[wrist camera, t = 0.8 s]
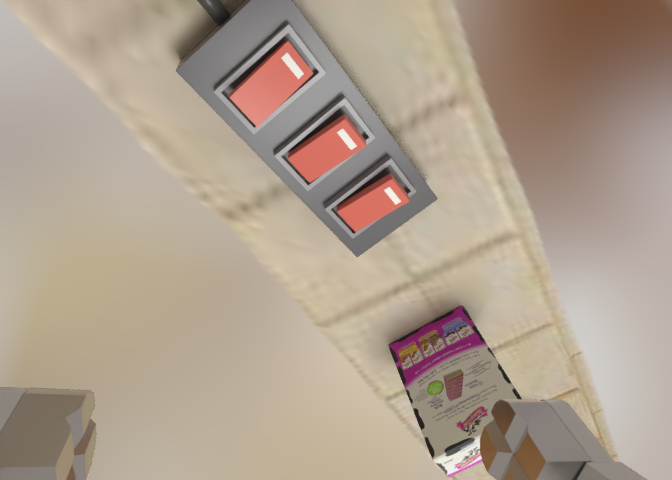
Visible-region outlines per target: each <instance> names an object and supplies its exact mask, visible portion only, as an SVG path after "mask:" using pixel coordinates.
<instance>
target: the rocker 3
mask: <svg viewBox="0 0 672 480" xmlns="http://www.w3.org/2000/svg"><path fill="white" fill-rule="evenodd" d="M409 201H410V200H409V196H408V194H407V193H406V191H405V190H404V189H403V187H402V186H401V185H400V184H399V182H398V181H397V180H396V179H395V177H394V176H393V175H392V173H390V174H388V175H386V176H385V177H383V178H382V179H380V180H378V181H377V182H375V183H373V184H372V185H370V186H368V187H367V188H365V189H363V190H362V191H360V192H358V193H357V194H355V195H354V196H352V197H350V198H349V199H347V200H345V201H344V202H342V203H340V204H339V205H337V213H338V214H339V215H340V216H341V217H342V218H343V219H344V220H345V221H346V222H347V223H348V225H349V226H350V227H351V228H352V229H353V230H354V231H355V232H357V231H358V230H360V229H362V228H364V227H365V226H367V225H369V224H371V223H373V222H374V221H376V220H378V219H380V218H381V217H383V216H385V215H387V214H388V213H390V212H392V211H394V210H395V209H397V208H399V207H401V206H402V205H404V204H406V203H408V202H409Z"/></svg>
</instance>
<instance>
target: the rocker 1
mask: <svg viewBox="0 0 672 480" xmlns="http://www.w3.org/2000/svg"><path fill="white" fill-rule="evenodd" d="M313 74H314V73H313V72H312V71H311V69H310V68H309V67H308V65H307V64H306V63H305V62H304V60H303V59H302V58H301V57H300V55H299V54H298V53H297V51H296V50H295V49H294V48H293V46H292V45H291V44H290V42H289V41H286V40H285V41H284V42H283V43H282V44H281V45H280V46H279V47H278V48H277V49H276V50H275V51H274V52H272V53H271V54H270V55H269V56H268V57H267V58H266V59H265V60H264V61H263V62H262V63H261V64H260V65H259V66H258V67H257V68H256V69H255V70H254V71H253V72H252V73H251V74H250V75H249V76H248V77H247V78H245V79H244V80H243V81H242V82H241V83H240V84H239V85H238V86H237V87H236V88H235V89H234V90H233V91H232V92H231V93H230V94H229V95H228V97H229V98H230V99H231V100H232V101H233V102H234V103H235V104H236V105H237V106H238V107H239V108H240V109H241V111H242V112H243V113H244V114H245V115H246V116H247V117H248V118H249V119H250V120H251V121H252V122H253V123H254V125H255V126H256V127H258V126H259V125H260V124H261V123H262V122H263V121H264V120H266V119H267V118H268V117H269V116H270V115H271V114H272V113H273V112H274V111H275V110H276V109H277V108H278V107H279V106H280V105H281V104H282V103H283V102H284V101H285V100H286V99H287V98H289V97H290V96H291V95H292V94H293V93H294V92H295V91H296V90H297V89H298V88H299V87H300V86H301V85H302V84H303V83H304V82H305V81H306V80H307V79H308V78H309V77H310V76H312V75H313Z"/></svg>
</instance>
